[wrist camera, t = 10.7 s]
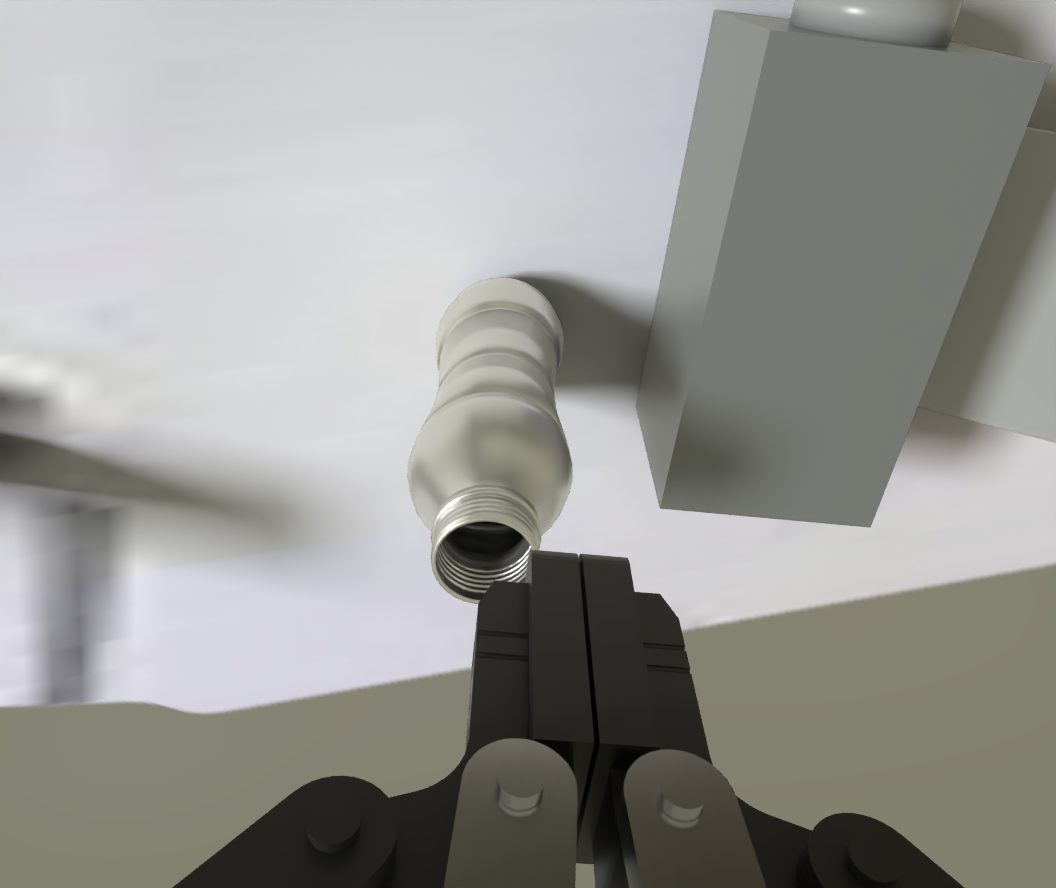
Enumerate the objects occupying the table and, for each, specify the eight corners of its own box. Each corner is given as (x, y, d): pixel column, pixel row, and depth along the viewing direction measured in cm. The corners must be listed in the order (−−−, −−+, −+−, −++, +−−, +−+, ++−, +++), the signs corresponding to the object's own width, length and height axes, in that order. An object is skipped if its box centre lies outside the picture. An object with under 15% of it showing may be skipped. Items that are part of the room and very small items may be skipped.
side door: (935, 114, 38) (1274, 170, 35) (935, 111, 39) (1265, 165, 36) (843, 388, 46) (1116, 459, 42) (845, 380, 46) (1112, 448, 43)
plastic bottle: (583, 294, 44) (619, 518, 27) (529, 399, 47) (531, 659, 30) (468, 245, 43) (430, 446, 26) (421, 356, 46) (359, 602, 29)
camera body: (725, -45, 36) (786, -41, 28) (949, -16, 37) (1077, -4, 28) (635, 406, 48) (659, 508, 39) (809, 423, 48) (870, 527, 40)
